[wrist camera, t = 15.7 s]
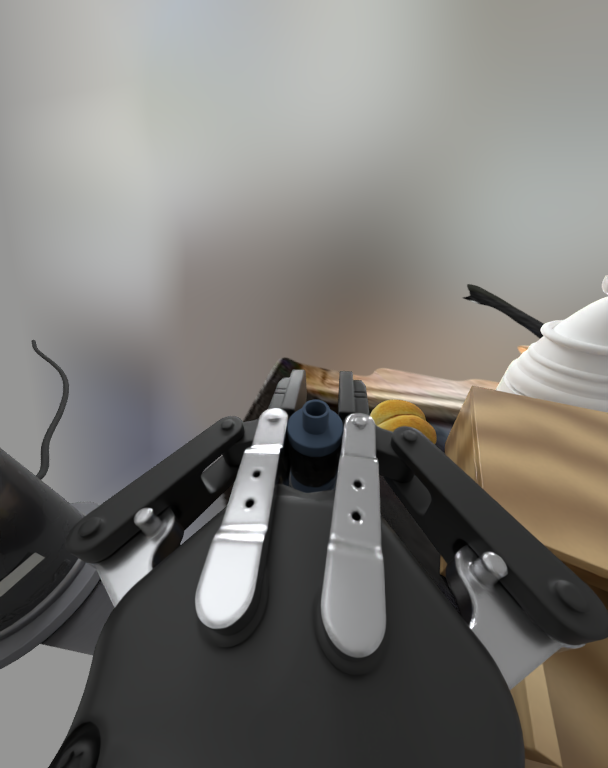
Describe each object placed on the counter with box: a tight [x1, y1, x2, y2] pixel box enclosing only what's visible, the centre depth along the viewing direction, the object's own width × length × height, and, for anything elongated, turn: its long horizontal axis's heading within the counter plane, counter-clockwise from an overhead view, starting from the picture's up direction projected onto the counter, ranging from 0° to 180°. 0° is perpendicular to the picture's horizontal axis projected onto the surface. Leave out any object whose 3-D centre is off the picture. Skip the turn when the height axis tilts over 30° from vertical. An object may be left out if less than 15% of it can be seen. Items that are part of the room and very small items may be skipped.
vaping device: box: [287, 400, 344, 493], centre depth 13 cm, size 3×5×12 cm, turn 145°
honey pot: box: [496, 275, 608, 413], centre depth 30 cm, size 13×13×18 cm
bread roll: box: [370, 400, 436, 444], centre depth 31 cm, size 8×9×4 cm
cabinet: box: [440, 386, 608, 579], centre depth 20 cm, size 16×13×10 cm
